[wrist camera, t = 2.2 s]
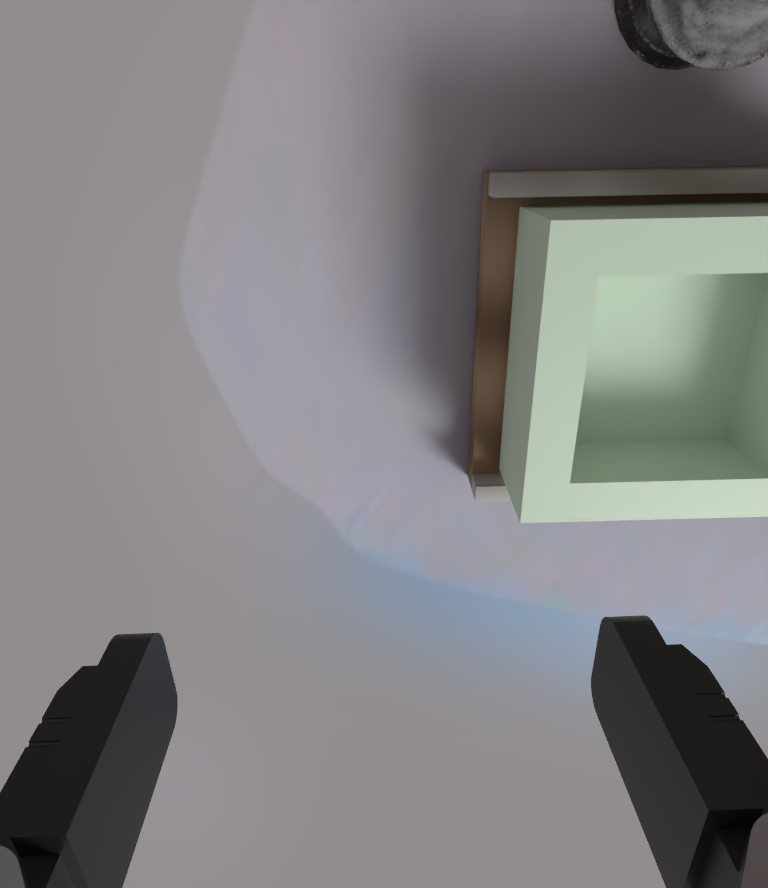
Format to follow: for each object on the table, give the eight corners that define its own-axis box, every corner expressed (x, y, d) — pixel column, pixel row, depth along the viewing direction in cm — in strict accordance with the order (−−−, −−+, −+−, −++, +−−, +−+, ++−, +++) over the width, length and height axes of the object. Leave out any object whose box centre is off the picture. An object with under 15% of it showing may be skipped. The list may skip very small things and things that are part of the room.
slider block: (519, 206, 24) (550, 220, 20) (817, 200, 24) (908, 213, 20) (499, 469, 29) (520, 522, 25) (742, 462, 29) (803, 515, 25)
